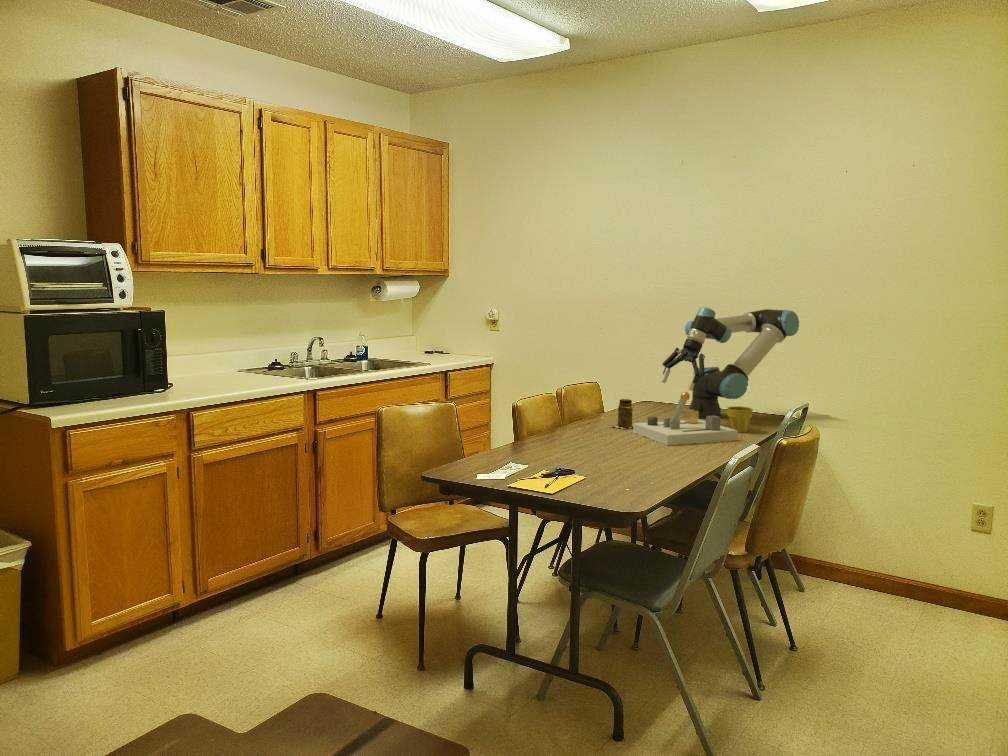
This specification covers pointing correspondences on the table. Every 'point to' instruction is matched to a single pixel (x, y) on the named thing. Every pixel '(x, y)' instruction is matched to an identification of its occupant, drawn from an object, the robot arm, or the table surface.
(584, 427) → the table surface
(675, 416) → the toggle lever
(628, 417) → the condiment
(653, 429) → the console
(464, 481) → the table surface
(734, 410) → the plant pot
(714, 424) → the grey slider
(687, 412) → the brass slider
